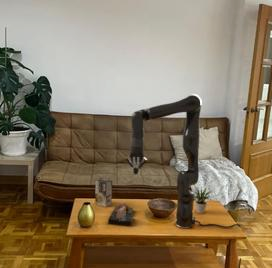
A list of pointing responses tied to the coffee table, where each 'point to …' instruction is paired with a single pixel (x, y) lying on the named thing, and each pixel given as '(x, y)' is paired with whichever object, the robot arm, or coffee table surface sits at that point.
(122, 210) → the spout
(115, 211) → the button block
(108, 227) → the coffee table surface
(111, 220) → the spout base
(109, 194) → the coffee box
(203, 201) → the house plant
